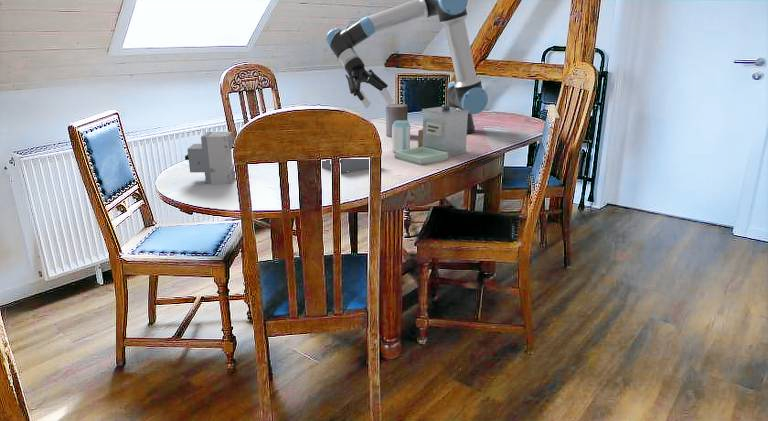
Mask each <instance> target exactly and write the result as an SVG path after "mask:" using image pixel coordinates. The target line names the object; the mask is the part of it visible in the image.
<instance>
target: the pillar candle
mask: <svg viewBox="0 0 768 421" xmlns="http://www.w3.org/2000/svg"><path fill="white" fill-rule="evenodd" d="M385 112H386V113H385V131H386V132H385V135H386V137H390V138H392V125H393V123H394V121H397V120H405V121H408V104H405V103H398V102H397V101H396V103H391V104H390V105H388V104H386V105H385Z"/></svg>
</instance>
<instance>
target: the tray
mask: <svg viewBox="0 0 768 421" xmlns="http://www.w3.org/2000/svg"><path fill="white" fill-rule="evenodd" d="M394 158H395V159H397V160H401V161H403V162H404V161H405V162H408V163H412V164H415V165H418V166H424V165H427V164H432V163H438V162H442V161H447V160H449V157H448V153H447V152H443V151H438V150H434V149H430V148H426V147H413V148H410V149H406V150H401V151H395V152H394Z"/></svg>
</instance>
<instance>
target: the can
mask: <svg viewBox="0 0 768 421" xmlns="http://www.w3.org/2000/svg"><path fill="white" fill-rule="evenodd" d="M406 149H411V125H410V123H409V121H408V120H407V121H405V120H397V121H394V123H393V125H392V137H391V151H393V153H395V151H401V150H406Z"/></svg>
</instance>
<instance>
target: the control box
mask: <svg viewBox="0 0 768 421" xmlns="http://www.w3.org/2000/svg"><path fill="white" fill-rule="evenodd" d="M421 111H422V113H423V114H422V116H423V118H422V119H423V120H422V129H423V145H422V147H426V148H430V149H434V150H438V151H443V152H447V153H448V158H449V157H454V156H458V155H464V154H466V153H467V121H468V112H469V111H470V110H466V109H460V108H453V107H450V105H447V104H441V106H437V107H428V108H421Z"/></svg>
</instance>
